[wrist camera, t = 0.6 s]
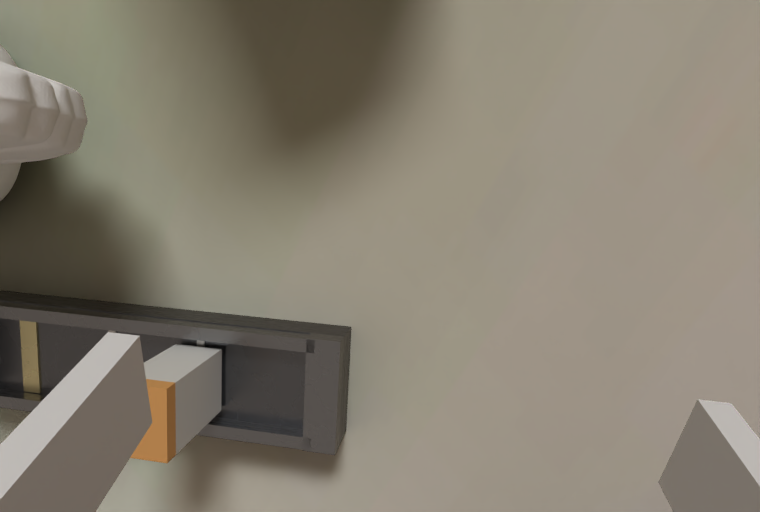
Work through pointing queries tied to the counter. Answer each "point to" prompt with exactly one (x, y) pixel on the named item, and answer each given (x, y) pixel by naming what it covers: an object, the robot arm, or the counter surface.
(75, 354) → the tray
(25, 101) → the decorative rooster
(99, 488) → the robot arm
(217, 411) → the fader tab
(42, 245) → the counter surface
